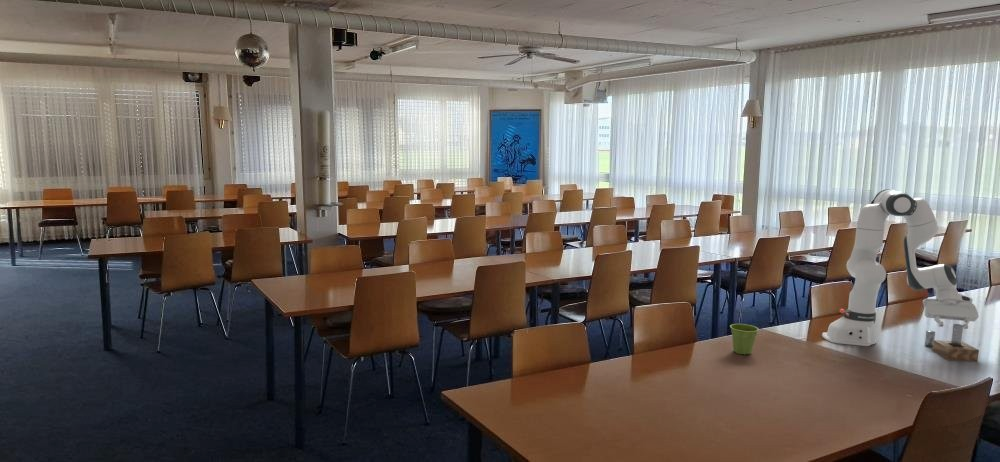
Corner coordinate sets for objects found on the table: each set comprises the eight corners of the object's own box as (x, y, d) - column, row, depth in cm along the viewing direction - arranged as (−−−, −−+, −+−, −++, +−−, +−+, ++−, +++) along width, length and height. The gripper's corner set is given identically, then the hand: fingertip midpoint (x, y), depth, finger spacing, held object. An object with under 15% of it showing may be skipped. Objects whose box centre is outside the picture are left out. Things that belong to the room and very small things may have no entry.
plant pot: (759, 357, 280) (761, 332, 278) (730, 355, 282) (731, 330, 280) (754, 349, 291) (756, 324, 290) (726, 347, 294) (728, 322, 292)
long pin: (952, 357, 285) (956, 326, 283) (947, 354, 288) (951, 323, 286) (961, 357, 284) (965, 326, 282) (956, 355, 288) (960, 324, 286)
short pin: (926, 347, 298) (928, 332, 297) (923, 344, 301) (924, 330, 300) (935, 347, 298) (936, 332, 297) (931, 345, 301) (932, 330, 300)
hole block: (947, 359, 281) (948, 348, 280) (932, 350, 293) (933, 340, 292) (977, 361, 280) (979, 350, 279) (961, 352, 291) (962, 341, 291)
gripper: (924, 294, 297) (928, 321, 289) (976, 298, 291) (982, 325, 283) (919, 301, 302) (924, 328, 294) (971, 305, 296) (977, 333, 288)
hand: (953, 327), depth 289 cm, fingers open, 8 cm apart
